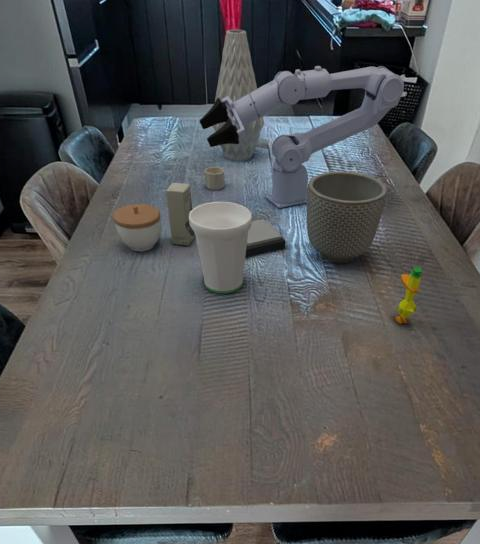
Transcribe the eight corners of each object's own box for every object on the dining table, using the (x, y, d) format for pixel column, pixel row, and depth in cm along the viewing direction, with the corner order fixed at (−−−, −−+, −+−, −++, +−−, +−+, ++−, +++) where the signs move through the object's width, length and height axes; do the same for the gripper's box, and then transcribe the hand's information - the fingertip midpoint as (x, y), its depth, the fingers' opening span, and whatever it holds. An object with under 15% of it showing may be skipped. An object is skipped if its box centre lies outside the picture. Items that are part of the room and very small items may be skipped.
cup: (230, 305, 98) (227, 235, 87) (183, 287, 103) (175, 218, 92) (262, 279, 106) (263, 211, 95) (217, 263, 110) (213, 196, 99)
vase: (273, 154, 159) (277, 30, 136) (245, 169, 150) (244, 38, 126) (232, 144, 165) (229, 23, 141) (203, 158, 156) (194, 31, 132)
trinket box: (172, 239, 117) (167, 201, 111) (151, 259, 110) (144, 220, 104) (133, 231, 120) (126, 193, 113) (110, 251, 113) (101, 212, 106)
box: (189, 246, 115) (183, 192, 106) (171, 244, 116) (164, 190, 106) (195, 236, 119) (190, 183, 109) (178, 234, 119) (172, 181, 110)
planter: (290, 244, 117) (294, 176, 105) (350, 232, 122) (361, 166, 110) (322, 279, 106) (331, 208, 95) (387, 265, 111) (403, 195, 100)
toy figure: (386, 311, 98) (399, 258, 90) (402, 309, 99) (416, 256, 90) (399, 331, 94) (415, 277, 85) (416, 328, 95) (433, 275, 86)
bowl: (220, 181, 143) (219, 165, 139) (227, 188, 139) (227, 172, 136) (202, 184, 141) (201, 168, 137) (210, 192, 137) (209, 175, 134)
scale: (263, 227, 123) (263, 216, 121) (285, 248, 116) (286, 237, 114) (220, 236, 119) (219, 225, 117) (240, 258, 112) (240, 247, 110)
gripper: (239, 74, 115) (190, 102, 118) (257, 108, 109) (205, 137, 111) (249, 101, 122) (202, 127, 124) (266, 134, 115) (217, 161, 117)
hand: (204, 134), depth 118 cm, fingers open, 7 cm apart
